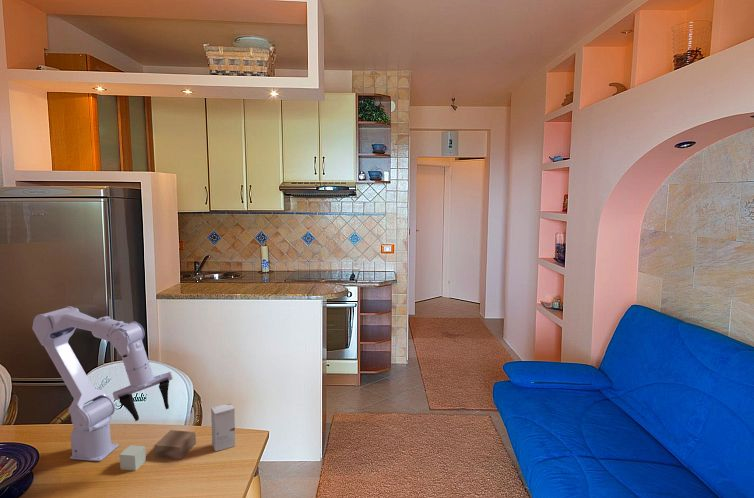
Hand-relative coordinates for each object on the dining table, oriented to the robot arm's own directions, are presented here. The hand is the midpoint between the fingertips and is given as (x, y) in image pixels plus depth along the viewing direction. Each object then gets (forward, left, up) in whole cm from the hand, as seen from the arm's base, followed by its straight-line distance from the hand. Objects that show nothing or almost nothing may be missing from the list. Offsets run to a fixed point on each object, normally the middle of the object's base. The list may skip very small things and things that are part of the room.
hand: (152, 413), depth 122 cm
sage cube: (-7, 0, -16) cm, 17 cm away
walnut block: (+1, +8, -16) cm, 18 cm away
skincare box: (+14, +12, -16) cm, 24 cm away
